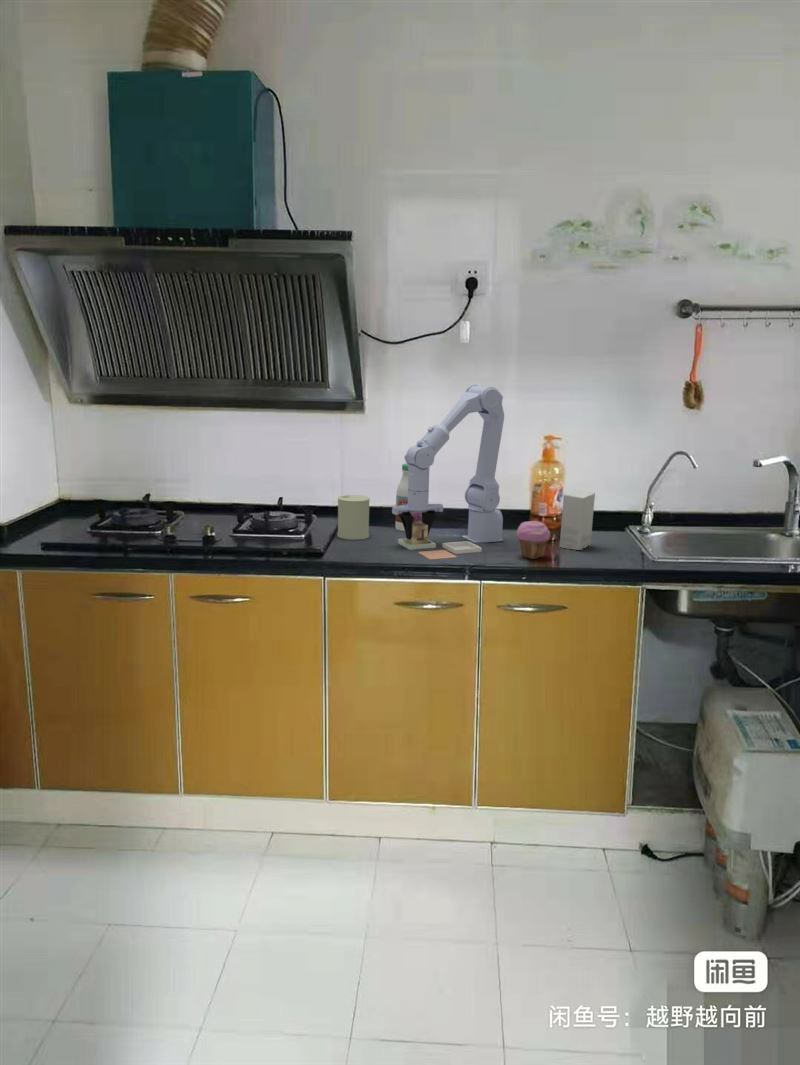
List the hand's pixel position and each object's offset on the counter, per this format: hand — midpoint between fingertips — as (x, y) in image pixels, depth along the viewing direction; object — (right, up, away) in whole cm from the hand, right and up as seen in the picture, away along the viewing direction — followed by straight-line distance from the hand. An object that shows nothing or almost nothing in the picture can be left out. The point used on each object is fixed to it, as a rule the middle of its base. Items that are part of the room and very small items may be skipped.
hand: (416, 538), depth 240 cm
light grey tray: (+12, -3, -3) cm, 13 cm away
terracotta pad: (+5, -5, -9) cm, 12 cm away
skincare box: (+45, -3, +4) cm, 45 cm away
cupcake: (+31, -5, -8) cm, 32 cm away
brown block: (0, -2, 0) cm, 2 cm away
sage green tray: (0, -2, +1) cm, 2 cm away
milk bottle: (-2, +2, +21) cm, 21 cm away
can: (-18, 0, +10) cm, 21 cm away
